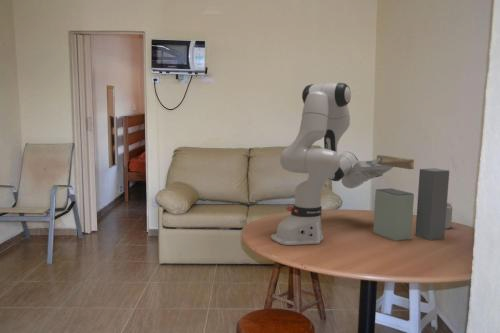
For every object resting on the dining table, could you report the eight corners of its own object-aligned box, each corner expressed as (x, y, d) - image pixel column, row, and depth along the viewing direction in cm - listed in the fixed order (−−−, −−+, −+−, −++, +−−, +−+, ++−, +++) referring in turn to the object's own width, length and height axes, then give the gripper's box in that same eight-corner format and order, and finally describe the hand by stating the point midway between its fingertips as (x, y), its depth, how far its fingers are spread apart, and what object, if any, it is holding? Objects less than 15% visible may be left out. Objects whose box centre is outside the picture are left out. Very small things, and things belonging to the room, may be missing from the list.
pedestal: (429, 240, 192) (434, 171, 188) (415, 235, 199) (419, 169, 195) (444, 237, 196) (449, 170, 192) (430, 233, 203) (434, 168, 199)
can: (453, 229, 210) (455, 204, 209) (437, 229, 211) (439, 204, 209) (446, 225, 218) (448, 201, 216) (431, 225, 218) (433, 201, 217)
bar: (409, 169, 185) (409, 159, 185) (376, 163, 203) (377, 155, 203) (413, 169, 186) (414, 159, 186) (380, 163, 204) (381, 154, 204)
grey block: (395, 240, 190) (398, 194, 187) (373, 232, 202) (375, 189, 200) (411, 238, 193) (414, 193, 191) (388, 230, 206) (391, 188, 203)
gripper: (346, 165, 209) (363, 153, 197) (380, 163, 218) (398, 152, 206) (350, 178, 207) (367, 166, 195) (384, 175, 215) (403, 164, 204)
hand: (384, 159), depth 201 cm, fingers closed on bar, 2 cm apart
